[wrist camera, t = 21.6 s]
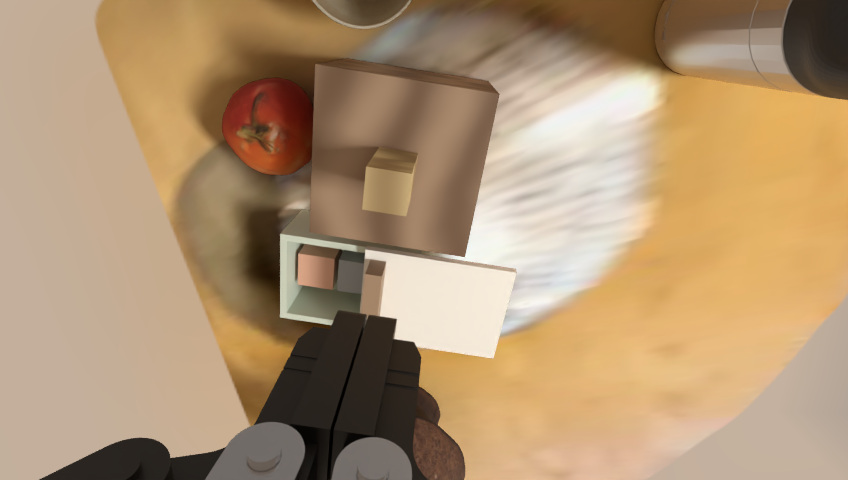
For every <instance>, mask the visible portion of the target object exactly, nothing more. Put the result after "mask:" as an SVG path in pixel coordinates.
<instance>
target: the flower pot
mask: <svg viewBox="0 0 848 480" xmlns="http://www.w3.org/2000/svg"><path fill="white" fill-rule="evenodd" d="M312 1H313V2H314V4H315V5H316V6H317V7H318V8H319V9H320V10H321V11H322V12H323V13H324V14H325V15H326V16H328V17H329V18H330V19H332V20H334V21H335V22H337V23H339V24H341V25H344V26H347V27H350V28H356V29H371V28H376V27H380V26H383V25H385V24H387V23H389V22H391V21H392V20H394V19H395V18H397V17H398V16H399V15H400V14H401V13H402V12H403V11H404V10H405V9H406V8H407V7H408V5H409V4H410V2H411V1H412V0H312Z"/></svg>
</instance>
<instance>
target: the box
mask: <svg viewBox="0 0 848 480" xmlns="http://www.w3.org/2000/svg"><path fill="white" fill-rule="evenodd" d="M309 227H310V210H304V209H302V210H301V211H300V212H299V213H298V214H297V215H296V216H295V218H294V219H293V220H292V221H291V222H290V223H289V224H288V226H287V227H286V228H285V229H284V230H283V231H282V232H281V233H280V317H282V318H288V319H295V320H301V321H308V322H314V323H321V324H327V325H332V323H333V321H334V318H335V316H336V314H337V312H338V310H342V311H349V312H355V313H360V302H361V294H356V293H350V292H343V291H337V283H338V280H337V282H336V284H335V286H334V288H333V290H330V289H324V288H317V287H311V286H304V285H298V253H299V252H300V251H301V249H302V248H303V246H304V245H305V244H310V245H316V246H323V247H329V248H335V249H342V253H343V251H344V250H348V251H355V252H361V253H365V249H366V247H367V246H371V247H377V248H384V249H390V250H397V251H403V252H409V253H416V254H420V253H421V250H417V249H411V248H405V247H399V246H392V245H386V244H380V243H373V242H367V241H361V240H354V239H348V238H342V237H335V236H329V235H323V234H316V233H310V232H309Z"/></svg>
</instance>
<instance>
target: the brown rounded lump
mask: <svg viewBox="0 0 848 480" xmlns="http://www.w3.org/2000/svg"><path fill="white" fill-rule="evenodd" d="M439 418H440V411H439V407H438V404H437V402H436V400H435V399H434V398H433V397H432V395H430V394H429V393H428V392H426V391H425V390H424V389H422V388H420V387H418V396H417V407H416V417H415V427H414V438H413V454H414V458H415V461H416V464H417V466H418V468H419V469H420V471H421V472H422V473H423V475H424V476H425V477H426V478H427V479H428V480H464V477H465V463H464V457H463V454H462V451H461V449H460V447H459V445H458V444H457V443H456V442H455V441H454V440H453V439H452V438H451V437H450V436H449V435H448V434H447V433H446V432H445V431H444V430H443V429H441V428H440V427H439V426H438V421H439Z"/></svg>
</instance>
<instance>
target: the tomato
mask: <svg viewBox="0 0 848 480" xmlns="http://www.w3.org/2000/svg"><path fill="white" fill-rule="evenodd" d="M313 112H314V109H313V106H312V104H311V102H310V100H309V98H308V96H307V94H306V93H305V92H304V91H303V89H302V88H301V87H299V86H298V85H297V84H295V83H294V82H292V81H290V80H286V79H282V78H267V79H262V80H258V81H254V82H251V83H248V84H246V85H244V86H243V87H241V88H240V89H239V90H237V91H236V92H235V93H234V94H233V95H232V97H231V99H230V101H229V103H228V105H227V108H226V110H225V112H224V115H223V121H222V132H223V135H224V137H225V139H226V141H227V143H228V144H229V145H230V147H231V148H232V149H233V151H234V152H235V153H236V154H237V155H238V156H239V158H240V159H241V160H242V161H243V162H244V163H245V164H247V165H248V166H249V167H251V168H253V169H255V170H257V171H259V172H262V173H265V174H269V175H288V174H292V173H294V172H296V171H297V170H299V169H300V168H301V167H303V166H304V165H306V164H307V163H308V162H309V161H310V160H311V159H312V141H313Z"/></svg>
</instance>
